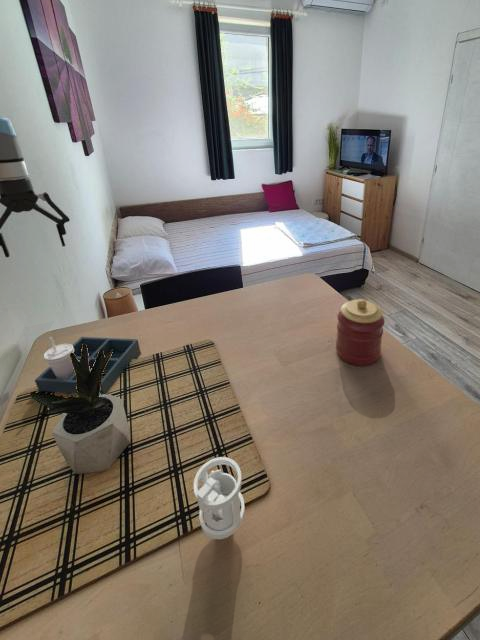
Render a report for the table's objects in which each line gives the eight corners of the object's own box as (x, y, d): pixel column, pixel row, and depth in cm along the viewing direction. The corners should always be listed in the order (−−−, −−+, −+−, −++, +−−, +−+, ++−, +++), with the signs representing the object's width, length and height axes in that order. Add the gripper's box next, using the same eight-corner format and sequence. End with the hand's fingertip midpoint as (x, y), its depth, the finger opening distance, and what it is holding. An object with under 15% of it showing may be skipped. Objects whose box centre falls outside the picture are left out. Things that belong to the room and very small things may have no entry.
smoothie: (56, 376, 87) (40, 333, 82) (84, 369, 90) (70, 326, 84) (52, 393, 82) (34, 348, 76) (81, 384, 84) (66, 340, 79)
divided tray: (40, 395, 82) (34, 380, 80) (86, 350, 98) (81, 336, 96) (105, 399, 81) (100, 384, 79) (141, 353, 97) (137, 339, 95)
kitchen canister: (389, 359, 93) (397, 306, 86) (350, 372, 88) (354, 317, 81) (363, 334, 104) (368, 285, 97) (327, 344, 99) (330, 293, 93)
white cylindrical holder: (195, 540, 53) (182, 481, 48) (225, 501, 59) (217, 444, 53) (226, 570, 50) (216, 510, 44) (255, 526, 55) (250, 467, 49)
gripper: (64, 171, 98) (83, 238, 106) (-49, 181, 84) (-18, 256, 93) (67, 174, 93) (86, 244, 101) (-54, 185, 79) (-20, 265, 87)
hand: (36, 250), depth 97 cm, fingers open, 13 cm apart
